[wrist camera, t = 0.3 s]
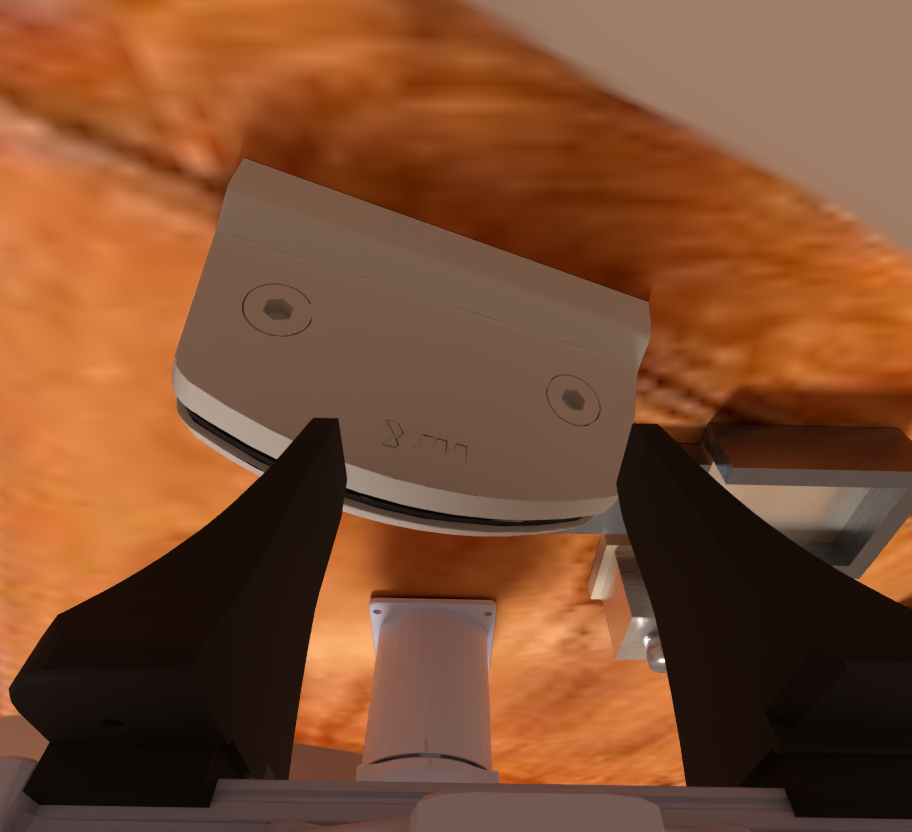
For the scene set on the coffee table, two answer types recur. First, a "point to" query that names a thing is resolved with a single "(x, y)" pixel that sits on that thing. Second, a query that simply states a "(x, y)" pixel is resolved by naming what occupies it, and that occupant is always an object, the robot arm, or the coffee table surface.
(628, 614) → the block
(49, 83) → the coffee table surface
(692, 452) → the flange rail
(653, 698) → the coffee table surface
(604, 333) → the grey rounded housing
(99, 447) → the coffee table surface
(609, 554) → the pad
